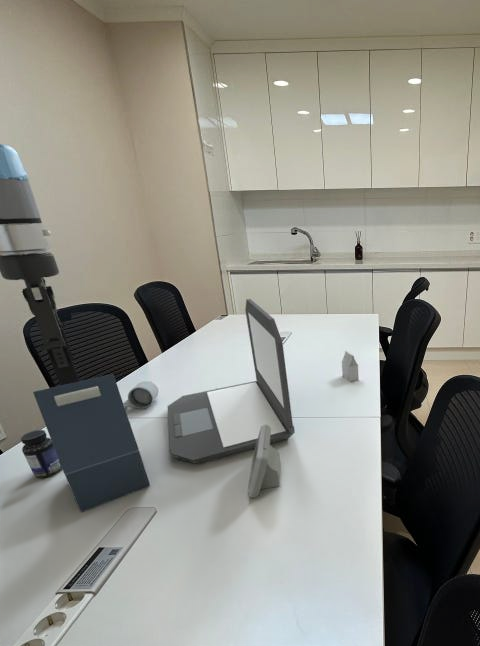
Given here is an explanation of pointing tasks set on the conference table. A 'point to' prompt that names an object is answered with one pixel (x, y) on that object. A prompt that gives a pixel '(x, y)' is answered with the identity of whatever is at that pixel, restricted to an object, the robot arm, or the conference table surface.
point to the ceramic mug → (142, 395)
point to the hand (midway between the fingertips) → (67, 372)
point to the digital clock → (264, 464)
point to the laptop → (236, 403)
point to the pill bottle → (40, 454)
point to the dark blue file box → (108, 480)
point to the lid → (86, 422)
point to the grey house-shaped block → (349, 367)
